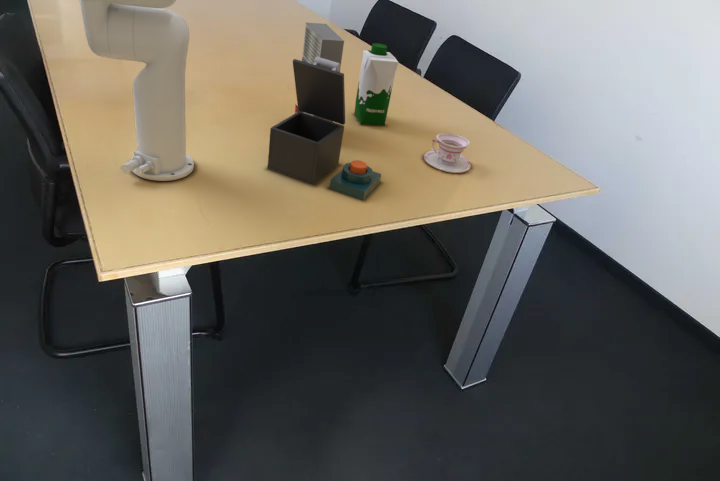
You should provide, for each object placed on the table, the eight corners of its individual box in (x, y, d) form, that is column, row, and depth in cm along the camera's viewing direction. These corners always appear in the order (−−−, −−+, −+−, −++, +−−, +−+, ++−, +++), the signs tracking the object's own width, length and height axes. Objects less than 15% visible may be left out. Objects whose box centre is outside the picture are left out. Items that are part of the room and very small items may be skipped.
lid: (342, 75, 115) (353, 61, 118) (292, 60, 118) (304, 46, 120) (343, 125, 126) (353, 110, 128) (298, 110, 128) (308, 96, 131)
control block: (362, 200, 120) (366, 184, 117) (329, 188, 122) (331, 172, 119) (379, 182, 127) (383, 166, 125) (348, 171, 129) (350, 156, 127)
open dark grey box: (313, 185, 121) (319, 144, 116) (267, 169, 124) (270, 127, 119) (338, 164, 132) (344, 125, 126) (294, 149, 134) (298, 111, 129)
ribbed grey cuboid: (292, 119, 149) (302, 22, 135) (314, 119, 151) (326, 23, 138) (307, 142, 139) (319, 39, 125) (330, 142, 141) (344, 41, 127)
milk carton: (379, 114, 162) (392, 44, 151) (388, 127, 155) (403, 54, 144) (350, 112, 159) (361, 41, 148) (358, 126, 152) (371, 52, 141)
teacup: (465, 155, 148) (471, 133, 144) (474, 176, 138) (481, 153, 134) (420, 149, 146) (426, 127, 143) (426, 170, 137) (432, 147, 133)
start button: (362, 176, 121) (363, 169, 120) (346, 171, 122) (348, 164, 121) (368, 170, 124) (369, 163, 123) (353, 165, 124) (354, 158, 123)
